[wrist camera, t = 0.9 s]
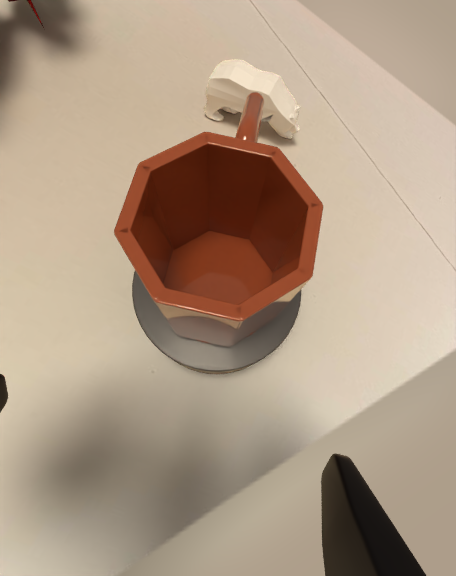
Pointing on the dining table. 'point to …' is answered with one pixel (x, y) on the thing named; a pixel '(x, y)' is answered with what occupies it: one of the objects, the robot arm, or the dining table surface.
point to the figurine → (244, 80)
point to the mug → (221, 231)
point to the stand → (210, 355)
